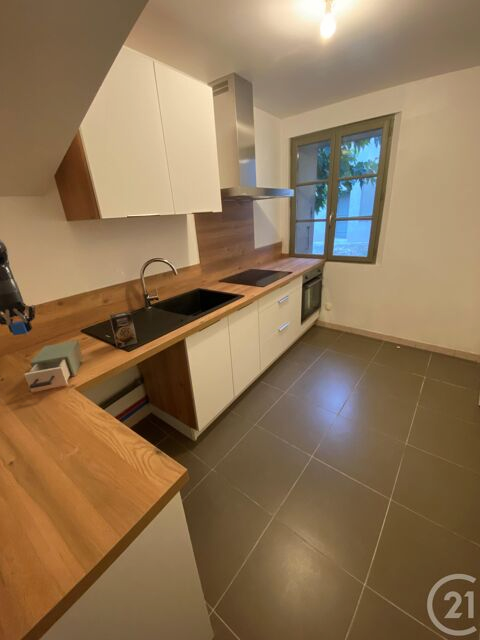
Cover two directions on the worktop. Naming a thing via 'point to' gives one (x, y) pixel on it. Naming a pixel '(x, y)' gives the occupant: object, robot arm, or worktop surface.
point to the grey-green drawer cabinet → (61, 355)
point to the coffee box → (123, 329)
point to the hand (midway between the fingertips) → (22, 331)
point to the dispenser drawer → (48, 375)
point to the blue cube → (18, 328)
